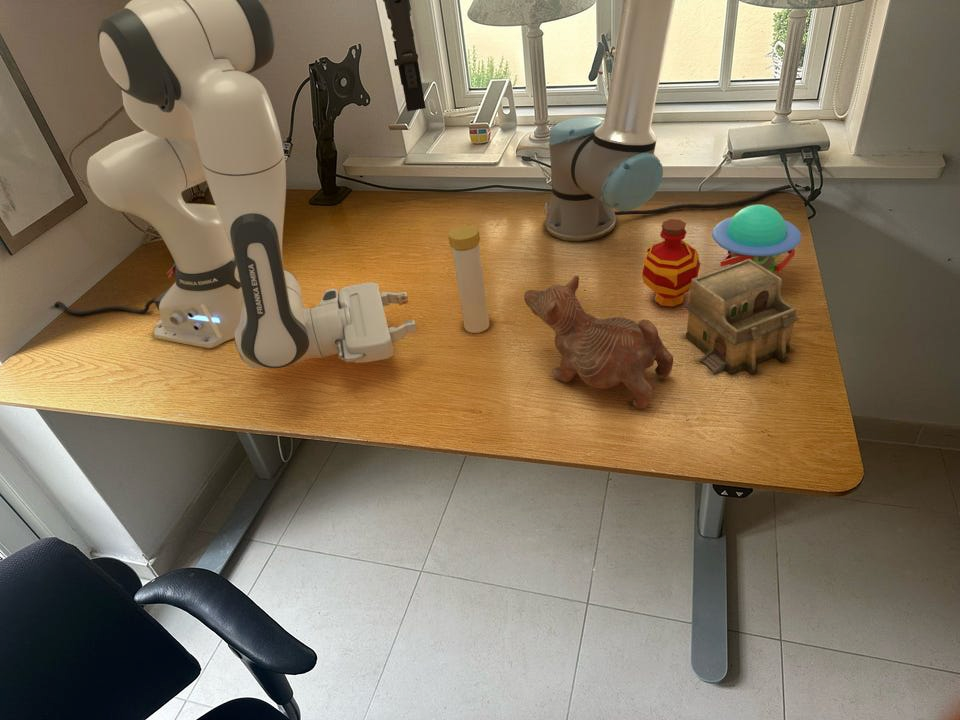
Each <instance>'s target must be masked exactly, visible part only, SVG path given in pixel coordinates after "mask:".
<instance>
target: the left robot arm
mask: <svg viewBox="0 0 960 720" xmlns="http://www.w3.org/2000/svg"><path fill="white" fill-rule="evenodd" d="M275 37H276V36H275V30H274V26H273V23H272V20H271V17H270V15H269V13H268V11H267V10H266V8H265V6H264V4H263V3H262V2H261V1H260V0H130V1H129V2H128V3H126V4H125V6H124V8H121V9H119V10H117V11H114V12H112V13H111V14H109V15H107V16H105V17H103V19H101V21H100V22H99V26H98V29H97V43H98V48H99V52H100V57H101V59H102V62H103V65H104V67H105V69H106V71H107V73H108V75H110V77H111V78H112V79H113V82H115V84H116V85H117V86H118V88H119V89H120V90H121V96H122V102H123V108H124V111H125V112H126V114H127V116H128V117H129V119H130V120H131V121H132V122H133V123H134V124H135V125H136V127H138V128H139V129H141V130H142V131H140V132H137V133H134V134H131V135H129V136H126V137H123V138H121V139H118V140H116V141H113V142H111V143H110V144H108V145H106V146H105V147H103V148H101V149H100V150H98V151H97V152H95V153H94V154H93V155H91V156H90V157H89V159H88V161H87V165H86V177H87V178H86V179H87V182H88V185H89V187H90V189H91V191H92V192H93V194H94V195H95V196H96V198H97V199H98V200H100V201H101V202H102V203H103V204H105V205H106V206H107V207H109V208H111V209H113V210H115V211H118V212H121V213H126V214H130V215H132V216H136V217H138V218H140V219H142V220H144V221H145V222H147V224H148V223H149V225H151V226H152V228H154V230H156V231H157V233H158V234H159V236H160V237H161V239H162V240H163V242H164V244H165V245H166V247H167V249H168V251H169V254H170V255H171V258H172V259H173V261H174V263H173V264H172V267H171V268H170V269H169V270H168V272H167V273H166V275H168V276H167V277H168V279H171V278H173V276H174V275H175V276H174V277H175V282H174V283H173V284H172V285H171V286H170V287H168V288H167V289H166V290H165V291H164V292H162V293H161V294H160V295H159V296H157V297H155V298H152V299H149V300H148V301H147V302H146V304H145V307H144V308H143V309H135V308H130V307H128V306H122V305H109V306H103V307H98V308H93V309H89V310H88V309H87V310H73V309H72V308H70V307H68V306H67V305H66V304H64V303H63V302H62V301H56V302H54V308H58V307H59V306H60V307H61V309H63V310H64V311H66V312H67V313H69V314H72V315H76V316H84V315H91V314H96V313H100V312H101V313H102V312H105V311H106V312H107V311H114V310H117V311H125V312H129V313H132V314H141V315H143V314H145V313H147V312H148V311H149V309H150V306H151V305H152V304H155V307H156V308H157V311H158V312H159V317H160V319H159V320H158V322H157V323H156V325H155V327H154V330H153V335H154V337H155V339H159V340H161V341H168V342H173V343H179V344H184V345H189V346H194V347H200V348H204V349H205V348H206V349H214V348H216V347H218V346H220V345H222V344H224V343H225V342H227V341H230V340H233V339H234V343H235V348H236V350H237V352H238V355H239V357H240V358H241V360H242V362H243V363H245V365H246V366H248V367H249V368H251V369H254V370H270V369H282V368H286V367H288V366H289V367H290V366H292V365H297V364H299V363H302V362H303V361H306V360H308V359H315V358H317V359H322V358H327V357H330V356H335V355H336V356H337V358H338V360H340V361H342V362H345V363H356V364H359V363H361V364H362V363H370V362H377V361H384V360H387V359H390V358H391V357H392V356H393V355H395V351H394V345H393V343H394V342H395V343H396V342H399V341H400V340H402V339H403V338H405V337H406V336H408V335H409V334H414V333H416V332H417V331H418V328H417V325H416V321H415V320H414V319H409V320H408V319H407V320H404V321H403V322H404V323H403V324H401V325H399V326H397V327H396V326H391V327H389V325H388V321H387V320H388V319H387V316H386V312H385V308H384V307H387V306H390V304H398V305H399V306H403V305H407V304H408V303H409V298H408V294H407V292H406V291H401V292H392V291H384V292H383V291H382V292H381V291H380V287H379V284H378V282H377V283H376V282H371V281H368V282H362V283H356V284H351V285H348V286H345V287H342V288H341V289H339V291H338V289H337V288H328V289H327V290H325V291H324V293H323V295H322V297H321V299H320V301H319V302H318V304H317V306H313V307H309V308H304V299H303V293H302V288H301V284H300V283H299V280H298V279H297V277H296V276H295V275H294V274H293V273H292V272H290V271H289V270H287V269H285V268H284V261H283V239H284V237H283V236H284V224H285V223H284V222H285V214H286V213H285V212H286V201H287V199H286V197H287V166H286V157H285V152H284V151H285V150H284V145H283V140H282V135H281V131H280V127H279V124H278V120H277V116H276V114H275V111H274V106H273V105H272V101H271V99H270V96H269V94H268V91H267V89H266V88H265V86H264V85H263V83H262V82H261V81H260V80H259V79H258V78H256V77H255V76H254V75H252V73H253V72H256V71H258V70H260V69H261V68H263V67H264V66H266V65H267V64H269V63H270V62H271V60H272V59H273V57H274V51H275V46H276V38H275ZM204 182H206V183H207V186H208V189H209V193H210V194H211V197H212V199H213V202H214V205H215V206H216V208H217V210H216V209H215V208H213V207H211V206H208V205H209V204H207V205H203V204H204V203H192V202H191V203H189V202H188V203H187V202H185V200H184V198H183V194H182V193H183V192H185V191H186V190H187V189H191V188H193V187H195V186H197V185H200V184H202V183H204Z"/></svg>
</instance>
